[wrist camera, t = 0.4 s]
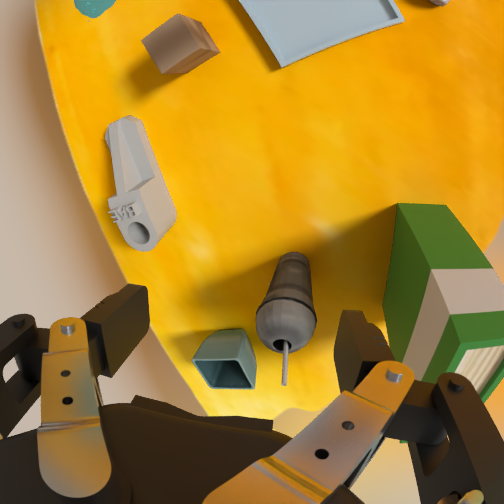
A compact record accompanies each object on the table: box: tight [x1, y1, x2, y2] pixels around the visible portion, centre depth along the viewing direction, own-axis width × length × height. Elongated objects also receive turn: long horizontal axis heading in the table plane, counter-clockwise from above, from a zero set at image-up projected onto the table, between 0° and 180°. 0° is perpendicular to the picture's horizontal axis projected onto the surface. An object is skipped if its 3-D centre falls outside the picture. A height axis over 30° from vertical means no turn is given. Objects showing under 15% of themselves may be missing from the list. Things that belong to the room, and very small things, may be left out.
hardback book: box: [382, 203, 504, 443], centre depth 31 cm, size 18×7×24 cm, turn 7°
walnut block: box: [141, 14, 220, 74], centre depth 28 cm, size 5×5×7 cm
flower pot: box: [192, 329, 257, 389], centre depth 52 cm, size 9×9×9 cm
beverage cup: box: [256, 252, 317, 386], centre depth 37 cm, size 7×7×20 cm
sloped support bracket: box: [105, 115, 177, 251], centre depth 38 cm, size 6×18×8 cm, turn 17°
